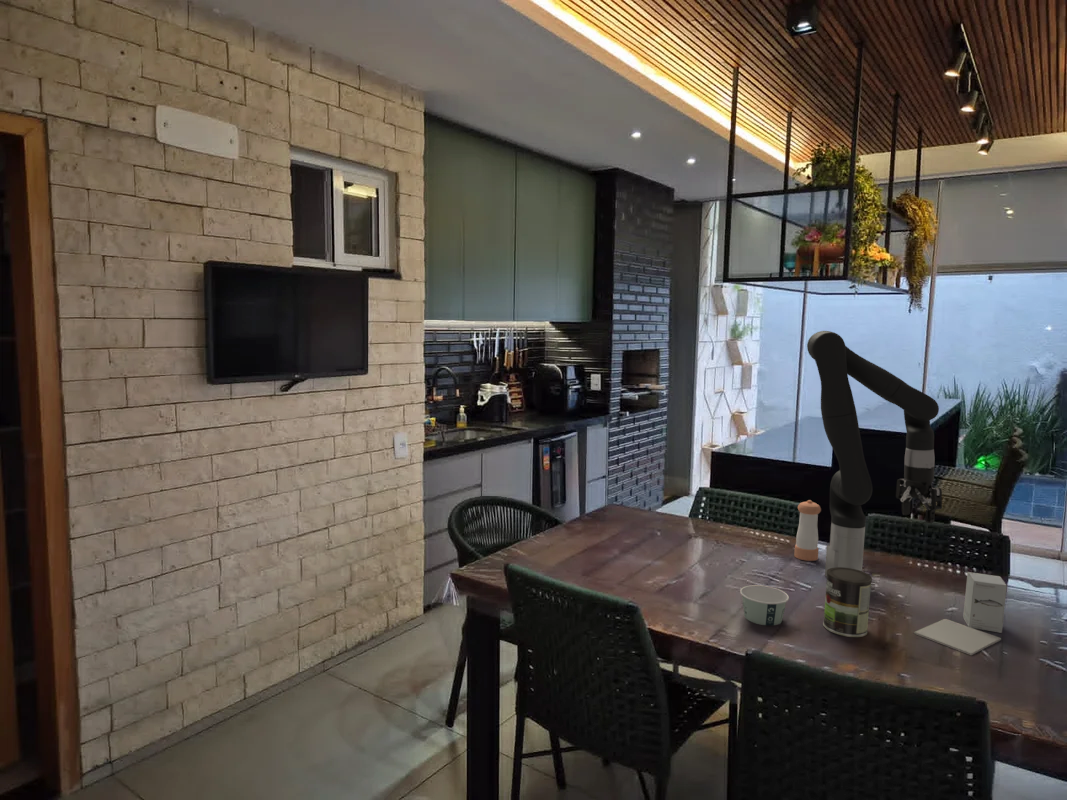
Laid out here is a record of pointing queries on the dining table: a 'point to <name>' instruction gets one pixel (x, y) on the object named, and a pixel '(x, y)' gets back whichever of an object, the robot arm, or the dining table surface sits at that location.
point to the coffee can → (847, 601)
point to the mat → (958, 636)
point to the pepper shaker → (807, 532)
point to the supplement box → (984, 602)
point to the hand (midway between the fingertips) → (917, 518)
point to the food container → (763, 604)
